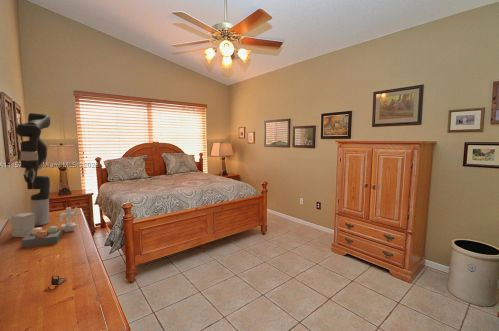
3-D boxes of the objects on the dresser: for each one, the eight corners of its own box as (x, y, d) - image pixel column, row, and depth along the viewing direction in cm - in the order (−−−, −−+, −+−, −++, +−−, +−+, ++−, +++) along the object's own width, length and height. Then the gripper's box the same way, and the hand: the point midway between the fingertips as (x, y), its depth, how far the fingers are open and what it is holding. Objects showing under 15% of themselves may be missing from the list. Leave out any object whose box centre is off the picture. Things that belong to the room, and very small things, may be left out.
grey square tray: (30, 238, 139) (30, 231, 139) (62, 234, 147) (62, 228, 146) (21, 247, 127) (21, 240, 127) (57, 243, 134) (57, 236, 134)
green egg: (48, 236, 142) (48, 226, 142) (58, 235, 144) (57, 225, 144) (46, 238, 138) (46, 228, 138) (56, 237, 140) (56, 227, 140)
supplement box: (35, 233, 147) (34, 213, 146) (22, 237, 140) (22, 216, 139) (24, 232, 148) (24, 212, 147) (11, 236, 141) (10, 215, 140)
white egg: (33, 238, 139) (33, 228, 138) (43, 237, 141) (42, 227, 140) (30, 240, 135) (30, 230, 134) (41, 239, 137) (40, 229, 136)
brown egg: (38, 240, 135) (37, 230, 134) (48, 239, 137) (47, 229, 137) (35, 243, 131) (35, 233, 131) (46, 242, 133) (45, 232, 133)
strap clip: (60, 279, 100) (60, 269, 100) (67, 280, 100) (67, 270, 100) (42, 291, 91) (42, 281, 91) (50, 292, 91) (50, 281, 91)
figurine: (58, 230, 154) (58, 207, 153) (76, 227, 160) (76, 205, 159) (60, 233, 149) (60, 209, 148) (78, 230, 155) (78, 207, 154)
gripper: (24, 158, 142) (25, 187, 143) (16, 160, 130) (17, 191, 131) (41, 158, 145) (41, 186, 147) (34, 160, 134) (35, 190, 135)
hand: (30, 188), depth 139 cm, fingers closed
